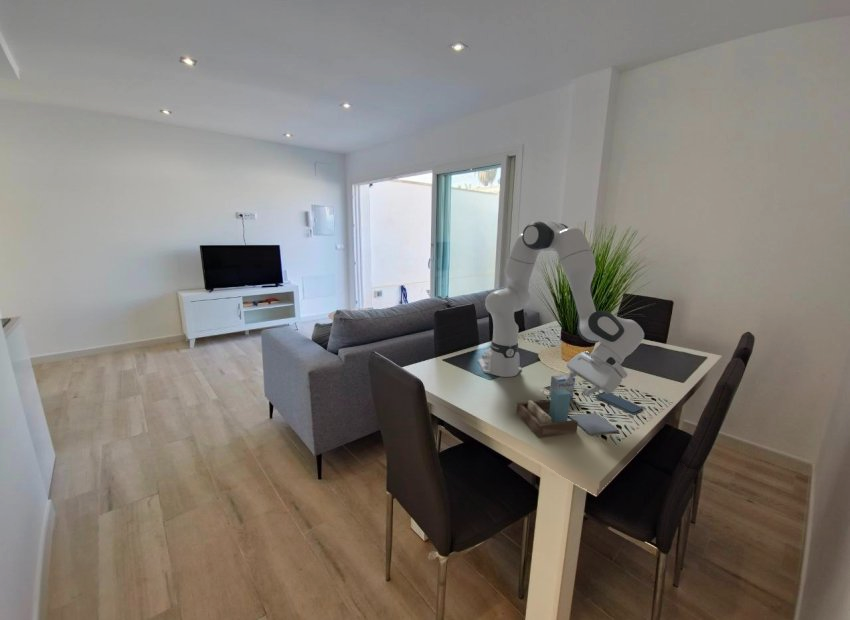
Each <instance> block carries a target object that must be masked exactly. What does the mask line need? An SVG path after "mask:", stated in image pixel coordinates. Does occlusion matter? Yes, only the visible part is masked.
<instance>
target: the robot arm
mask: <svg viewBox="0 0 850 620" xmlns="http://www.w3.org/2000/svg"><path fill="white" fill-rule="evenodd" d="M516 237H517V238H516V239H515V241H514V243H513V246H512V247H511V250H510V253H509V256H508V258H507V262H506V265H505V268H504V271H503V272H504V273H503V274H504V276H505V278H506V283H505V288H502V289H496V290H493V292H491V293H489V294H488V295H487V296H486V297H485V300H484V304H485V309H486V310H487V312H488V313H490V315H491V319H492V323H493V324H492V325H493V326H492V327H493V329H492V331H493V333H492V339H491V340H490V347H488V348H487V349H486V350H484V351H483V354H482V356H481V358H479V359H478V361H477V362H478V363H479V366H480V368H481V370H482V372H483V373H485V374H489V375H490V374H491V375H494V376H496V377H503V378H509V377H515V376H517V375H518V374H519V373H520V372H521V371H522V367H521V366H520V353H519V352H518V351H519V343H518V340H519V329H520V328H519V327H520V326H519V325H518V324H517V323H516V321H515V312H519V311H522V310H523V309H524V308H526V307H528V305H530V302H531V295H530V292H529V287H530V286H529V285H530V279H531V276H532V272H533V270H534V267H535V264H536V262H537V258H538V256H539V254H540V252H541V251H542V252H544V251H545V252H549V251H555V252H557V253H556V254H558V258H559V261H560V265H561V267H562V270H563V272H564V275H565V277H566V279H567V282H568V285H569V287H570V291H571V294H572V298H573V302H574V305H575V310H576V312H577V319H578V320H577V333H578V335H579V337H580V338H581V339H582V340H583V341H585V342H587V343H591V344H596V343H597V344H598V343H599V345H598V346H597V347H596V348H594V349H593V351H591V352H589V351H587V350H585V351H581V352H579V353H577V354H576V355H574V357H572V358H571V359H570V360H568V361H567V363H566V367H567V369H568V370H569V372H568V374H569V375H568V378H567V379H566V380H565V381H566V382H567V383H568V384H571V383H572V382H573V381H572V380H573V377H574V378H576V377H577V376H578V377H580V378H581V379H582V380H585V381H586V382H588V383H589V384H591V387H590V388H584V390H583V391H582V394H583V395H584V396H586V397H587V398H589V397H590V396H591V395H592V394H595V393H598V392H599V391H600V390H601V392H605V393H607V394H608V393H611V394H612V393H613V392H614V391H615V390H616V389H617V388H618V387H619V386H620V385H621V384H622V381H623V379H625V378H626V377H628V373H627V371H626V370H625V369H624V367H623V366H622V363H623V362H624V360H625V358H626V357H628V356H629V355H631V354H632V353H634V351H635V350H636V349H637V348H638V347H639V345H640V344H641V343H642V342H643V340H644V338H645V332H644V329H643V327H642V326H641V325H640V324H639V323H638V322H637V321H636V320H633V319H628V318H627V319H626V318H622V317H619V316H617V315H614V314H612V313H611V312H610V311H607V310H603V309H602V310H596V306H595V304H594V301H593V297H592V292H591V286H592V282H593V278H594V276H595V274H596V270H597V264H596V260H595V259H596V258H595V255H594V253H593V249H592V247H591V245H590V243H589V241H588V239H587V237H586V235H585V233H584V232H583V231H582V230H581V228H578V227H575V226H570V227H569V226H568V225H566V224H564V223H561V222H560V223H558V222H554V221H540V220H538V221H533V222H530V223H528V224H527V225H526V226H525V227H524V229H523V230H522V233H520V234H519V235H518V236H516Z"/></svg>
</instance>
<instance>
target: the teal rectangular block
mask: <svg viewBox="0 0 850 620" xmlns="http://www.w3.org/2000/svg"><path fill="white" fill-rule="evenodd" d="M570 397H571V394H570V393H569V392H568V391H566V390H565V389H561V390H552V392H551V396H550V399H549V400H550V409H549V412H548V415H549V416H550V417H551V418H552V419H551V423H553V422H562V421H569V420H568V419H569V410H570V403H571V398H570Z"/></svg>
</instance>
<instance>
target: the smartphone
mask: <svg viewBox="0 0 850 620" xmlns="http://www.w3.org/2000/svg"><path fill="white" fill-rule="evenodd" d="M595 398H596V399H597V400H600V401H601V402H604V403H607V404H608V405H610V406H613V407H614V408H617V409H619V410H622V411H623V412H626V413H628V414H630V415H635V414H638V413H640V412H642V411H643V410H644V408H643V407H642V406H641V405H639V404H638V405H637V404H635V403H633V402H631V401H629V400H626V399H625V398H622V397H620V396H618V395H615V394H613V393H612V392H611V393H608V394H607V393H605V392H604V391H601V392H600V393H598V394H596V396H595Z"/></svg>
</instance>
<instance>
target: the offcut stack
mask: <svg viewBox="0 0 850 620" xmlns="http://www.w3.org/2000/svg"><path fill="white" fill-rule="evenodd" d="M527 402H528V408H527V410H528V411H529V412H530V413H531V414H532V415H533V416H534V417H535V418H536V419H537V420H538V421H539V422H540V423H541V424H544V423H552V422H551V419H552V418H551V417H550V416H549V413H548V412H544V411H543V410H542V409H541V408H540V407H539V406H538V405H536V404H535V403H534V402H533V400H531V399H529V400H528V401H527Z"/></svg>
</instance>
